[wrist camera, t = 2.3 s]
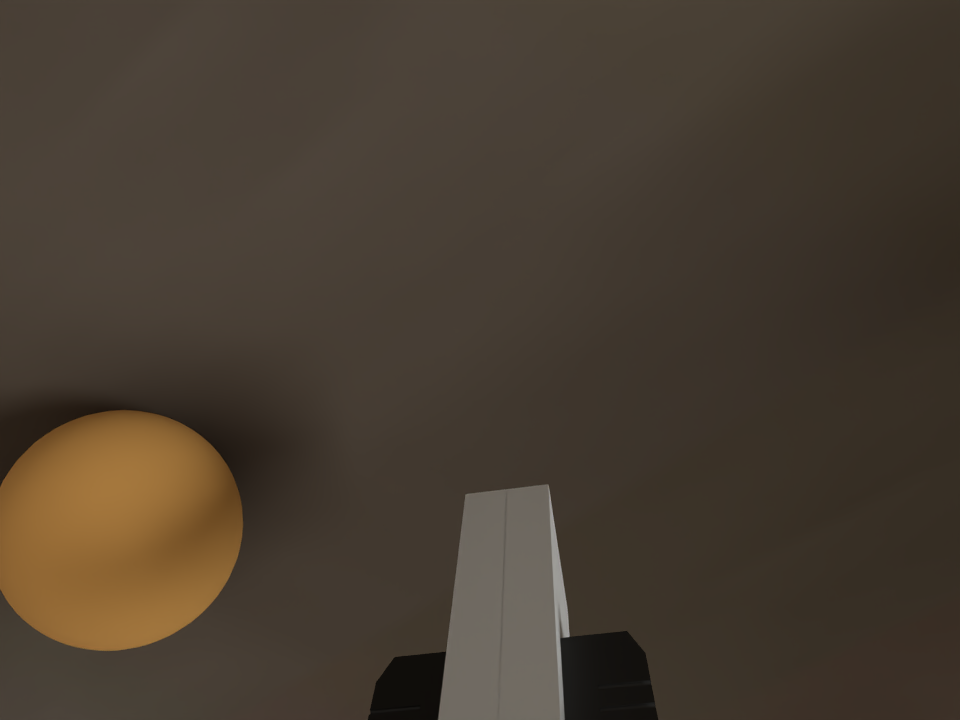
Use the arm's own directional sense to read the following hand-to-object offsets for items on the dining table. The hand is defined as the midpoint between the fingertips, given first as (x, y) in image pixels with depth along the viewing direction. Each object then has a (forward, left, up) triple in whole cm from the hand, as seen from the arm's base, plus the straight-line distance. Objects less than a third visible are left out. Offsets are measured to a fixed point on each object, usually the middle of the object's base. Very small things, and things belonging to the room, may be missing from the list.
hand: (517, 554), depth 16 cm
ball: (-1, +9, -4) cm, 10 cm away
